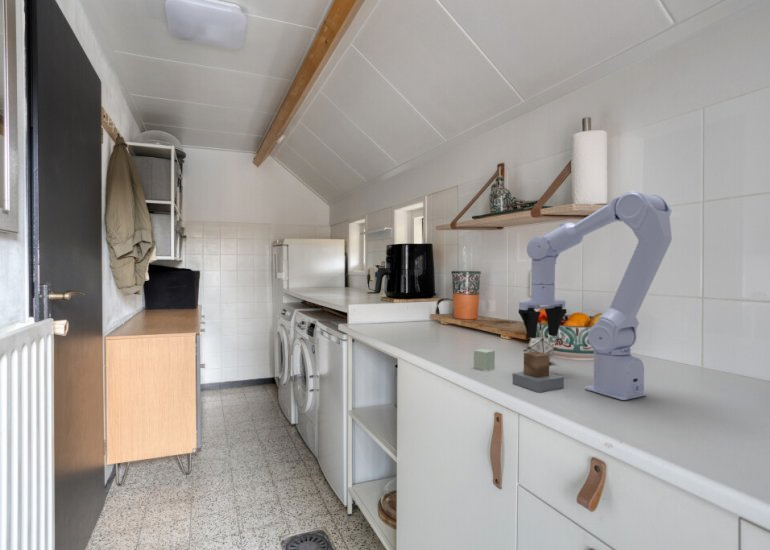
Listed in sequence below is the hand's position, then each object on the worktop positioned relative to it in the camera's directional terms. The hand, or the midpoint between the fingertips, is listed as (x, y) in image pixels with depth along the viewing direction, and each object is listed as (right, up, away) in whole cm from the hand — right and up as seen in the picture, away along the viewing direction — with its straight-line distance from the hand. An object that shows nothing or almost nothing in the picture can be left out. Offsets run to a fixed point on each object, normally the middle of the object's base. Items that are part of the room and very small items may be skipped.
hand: (542, 336), depth 110 cm
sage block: (-13, -10, +7) cm, 18 cm away
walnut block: (-5, -8, -10) cm, 13 cm away
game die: (+4, -10, +14) cm, 17 cm away
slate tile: (-5, -10, -10) cm, 15 cm away
